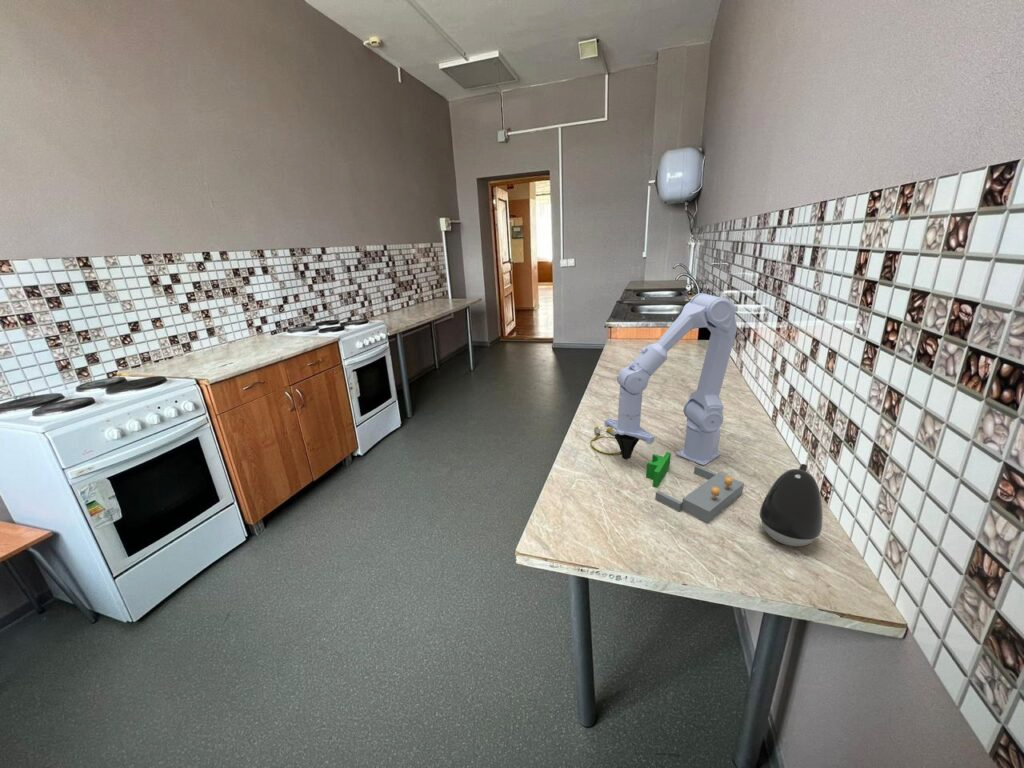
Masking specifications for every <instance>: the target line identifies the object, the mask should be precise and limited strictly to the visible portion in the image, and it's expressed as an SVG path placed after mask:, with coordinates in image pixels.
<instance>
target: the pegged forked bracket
mask: <svg viewBox="0 0 1024 768" xmlns="http://www.w3.org/2000/svg"><path fill="white" fill-rule="evenodd" d="M693 469H694V470H693V474H694V475H697V476H699V477H701V478H703V477H704V478H703V479H706V481H705V482H703V483H702V484H700V485H699V486H698V487H697V488H696V489H694V490H692V491H691V492H690V493H688V494H687V495H685V496H684V497H683V498H682V501H680V500H678V499H677V498H675V497H673V496H670V495H669V494H666V493H664V492H662V491H660V490H656V492H655V499H654V500H656V501H658V502H659V503H661V504H663V505H665V506H667V507H669V508H670V509H673V510H675V511H677V513H678V512H681V511H683V512H685V513H686V514H689V515H690V516H692V517H694V518H696V519H698V520H700V521H702V522H704V523H706V524H710V522H711V521H712V520H713V519H714V518H716V517H717V516H718V515H719V514H720V513H722V512H723V511H724V510H725V509H726V508H728V507H729V506H730V505H731V504H733V502H735V501H736V500H737V499H738V498H740V496H742V495H743V493H744V487H745V486H744V485H745V483H744V482H743V481H739V480H737V479H735V478H733V477H731V476H729V475H728V476H727V475H725V474H722V473H721V472H717V473H716V472H715V471H712V470H709V469H707V468H704V467H703V466H700V465H698V464H697V465H694V468H693Z"/></svg>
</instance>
